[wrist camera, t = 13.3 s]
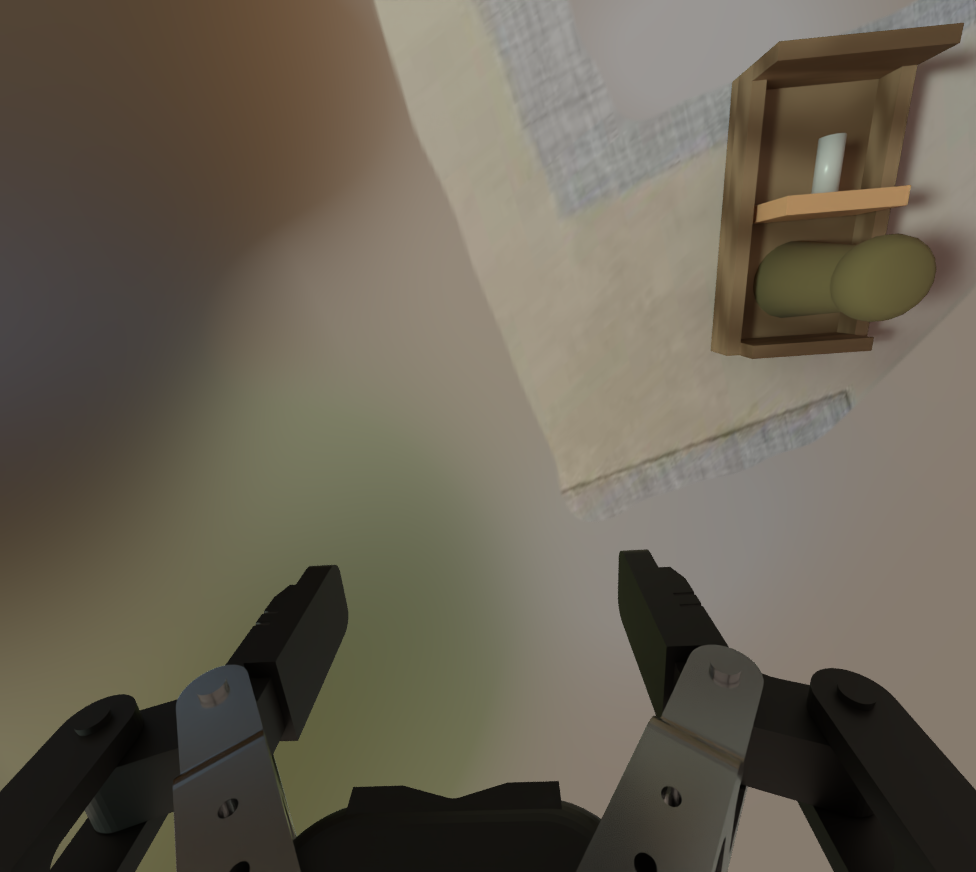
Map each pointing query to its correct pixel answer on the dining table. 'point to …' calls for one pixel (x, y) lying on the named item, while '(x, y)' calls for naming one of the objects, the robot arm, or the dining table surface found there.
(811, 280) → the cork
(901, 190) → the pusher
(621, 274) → the dining table surface
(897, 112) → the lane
